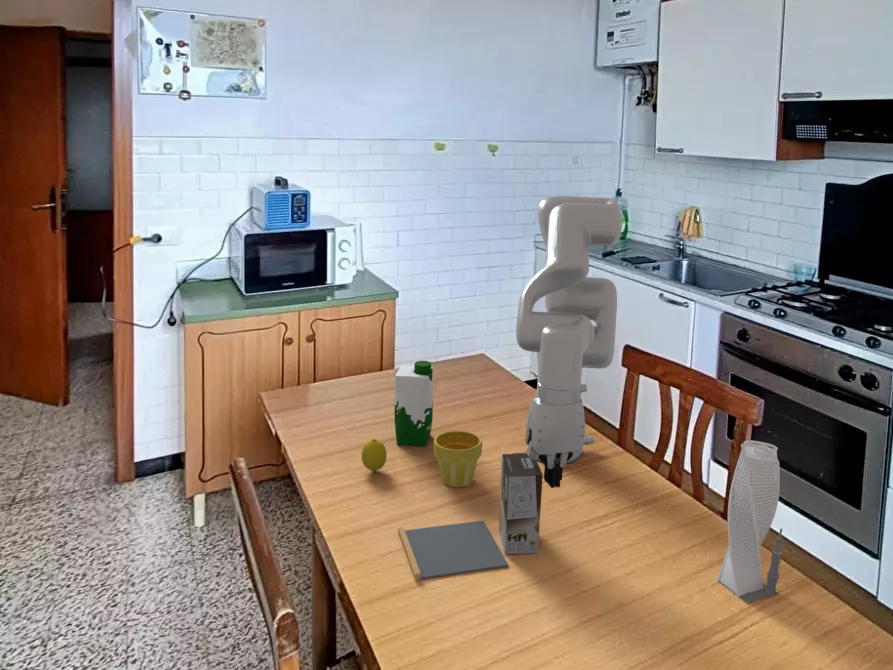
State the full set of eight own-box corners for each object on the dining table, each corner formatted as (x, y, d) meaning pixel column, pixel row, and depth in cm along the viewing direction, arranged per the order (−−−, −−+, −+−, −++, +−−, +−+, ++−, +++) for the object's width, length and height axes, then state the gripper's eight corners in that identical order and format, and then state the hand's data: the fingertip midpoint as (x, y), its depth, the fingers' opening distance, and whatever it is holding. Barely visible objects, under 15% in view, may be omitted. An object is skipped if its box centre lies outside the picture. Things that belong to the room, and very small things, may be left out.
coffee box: (539, 554, 135) (544, 475, 130) (504, 555, 134) (508, 476, 129) (529, 526, 143) (534, 452, 138) (497, 527, 143) (500, 452, 138)
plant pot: (438, 467, 166) (439, 427, 163) (483, 471, 164) (485, 432, 162) (429, 489, 157) (429, 447, 154) (476, 494, 155) (478, 452, 152)
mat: (483, 522, 144) (483, 516, 144) (508, 566, 131) (508, 560, 130) (398, 533, 140) (398, 527, 140) (415, 580, 126) (415, 574, 126)
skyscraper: (740, 607, 121) (765, 454, 113) (705, 579, 128) (726, 434, 120) (778, 595, 125) (804, 445, 116) (742, 569, 132) (765, 426, 123)
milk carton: (428, 449, 175) (429, 370, 169) (391, 446, 176) (391, 367, 170) (434, 433, 183) (435, 358, 177) (399, 431, 184) (398, 355, 178)
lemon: (382, 478, 161) (382, 445, 158) (358, 475, 162) (357, 442, 159) (389, 467, 166) (389, 434, 163) (366, 464, 167) (365, 432, 164)
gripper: (587, 382, 137) (580, 470, 142) (512, 388, 133) (508, 479, 138) (606, 397, 130) (598, 489, 135) (527, 404, 126) (522, 498, 131)
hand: (552, 484), depth 137 cm, fingers closed
